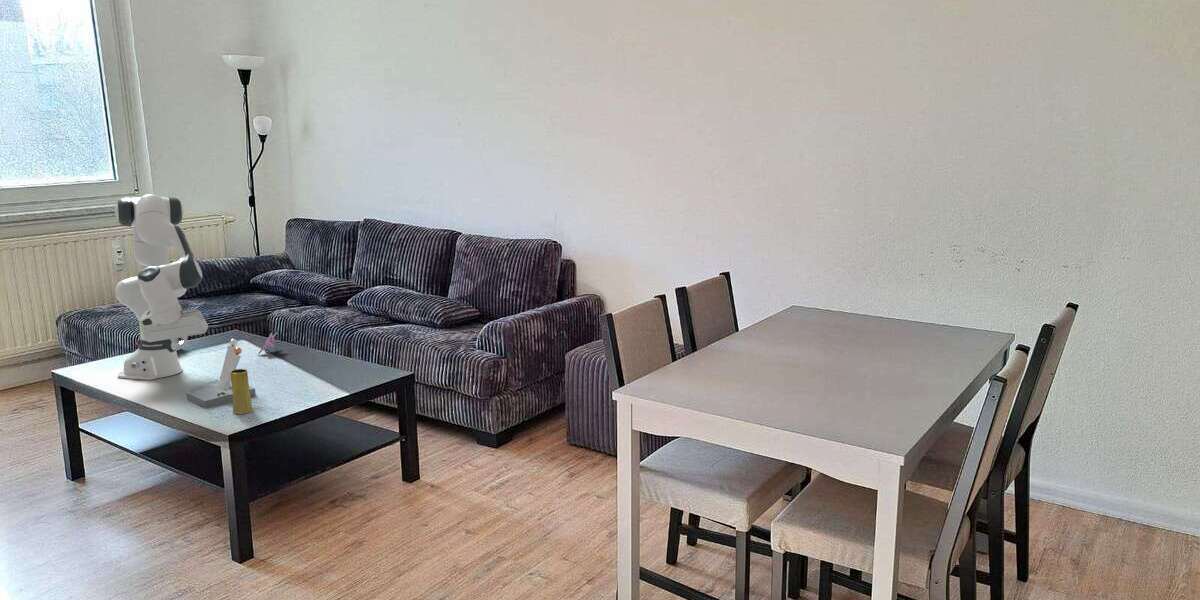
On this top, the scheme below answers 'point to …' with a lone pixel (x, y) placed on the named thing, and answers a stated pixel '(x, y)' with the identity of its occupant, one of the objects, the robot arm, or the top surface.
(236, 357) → the switch
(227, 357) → the switch
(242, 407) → the vase
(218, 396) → the console
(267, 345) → the lily
